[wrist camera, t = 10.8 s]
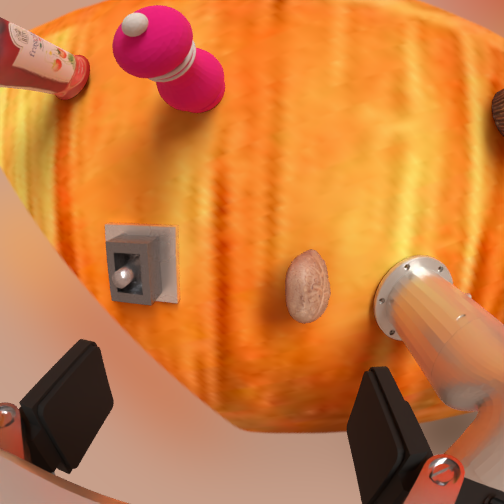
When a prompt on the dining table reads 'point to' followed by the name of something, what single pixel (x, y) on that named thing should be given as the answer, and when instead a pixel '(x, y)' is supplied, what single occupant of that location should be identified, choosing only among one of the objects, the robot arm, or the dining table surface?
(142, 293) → the grey rectangular frame
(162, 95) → the pepper mill
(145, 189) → the dining table surface
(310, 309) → the mushroom
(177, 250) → the keeper
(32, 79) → the liquor
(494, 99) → the cupcake
